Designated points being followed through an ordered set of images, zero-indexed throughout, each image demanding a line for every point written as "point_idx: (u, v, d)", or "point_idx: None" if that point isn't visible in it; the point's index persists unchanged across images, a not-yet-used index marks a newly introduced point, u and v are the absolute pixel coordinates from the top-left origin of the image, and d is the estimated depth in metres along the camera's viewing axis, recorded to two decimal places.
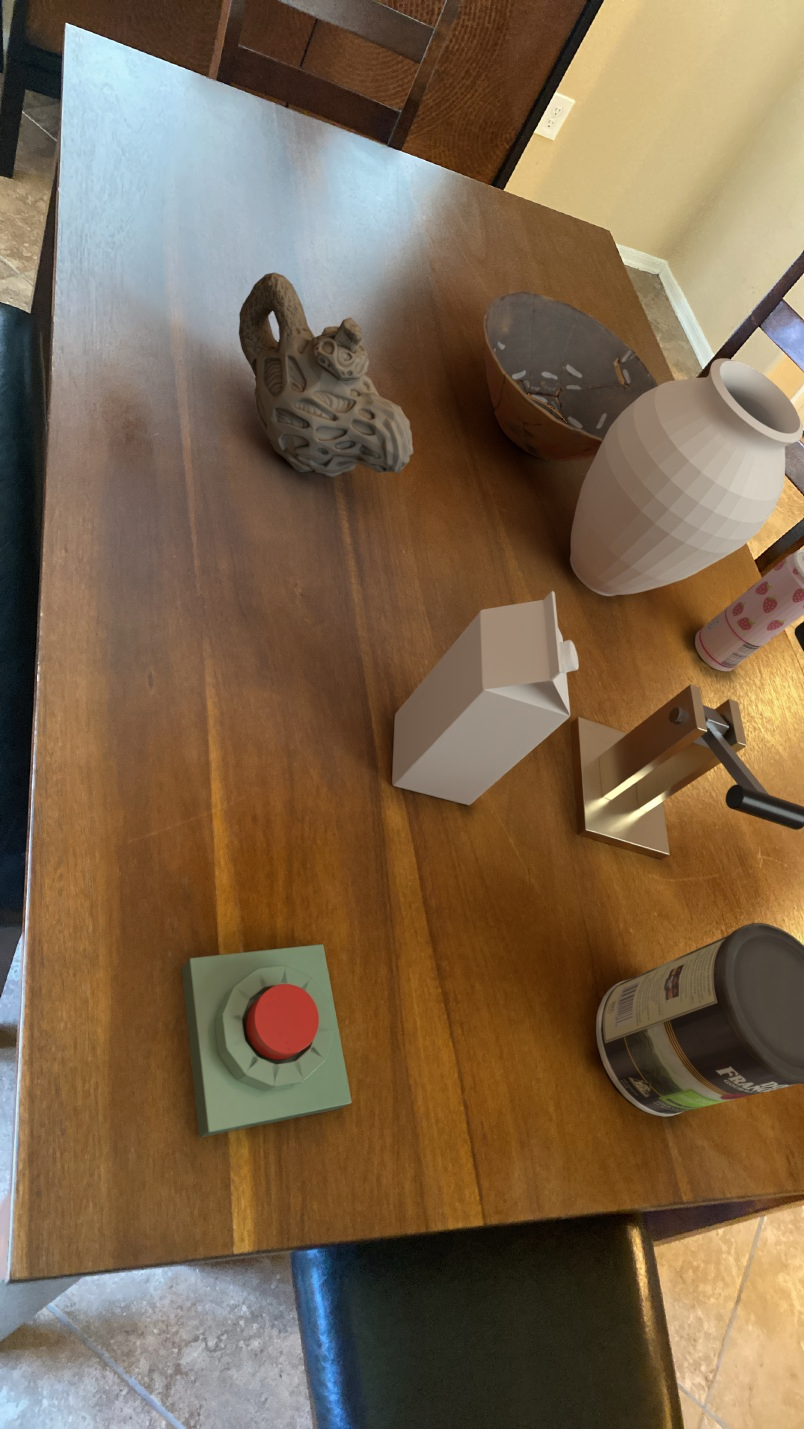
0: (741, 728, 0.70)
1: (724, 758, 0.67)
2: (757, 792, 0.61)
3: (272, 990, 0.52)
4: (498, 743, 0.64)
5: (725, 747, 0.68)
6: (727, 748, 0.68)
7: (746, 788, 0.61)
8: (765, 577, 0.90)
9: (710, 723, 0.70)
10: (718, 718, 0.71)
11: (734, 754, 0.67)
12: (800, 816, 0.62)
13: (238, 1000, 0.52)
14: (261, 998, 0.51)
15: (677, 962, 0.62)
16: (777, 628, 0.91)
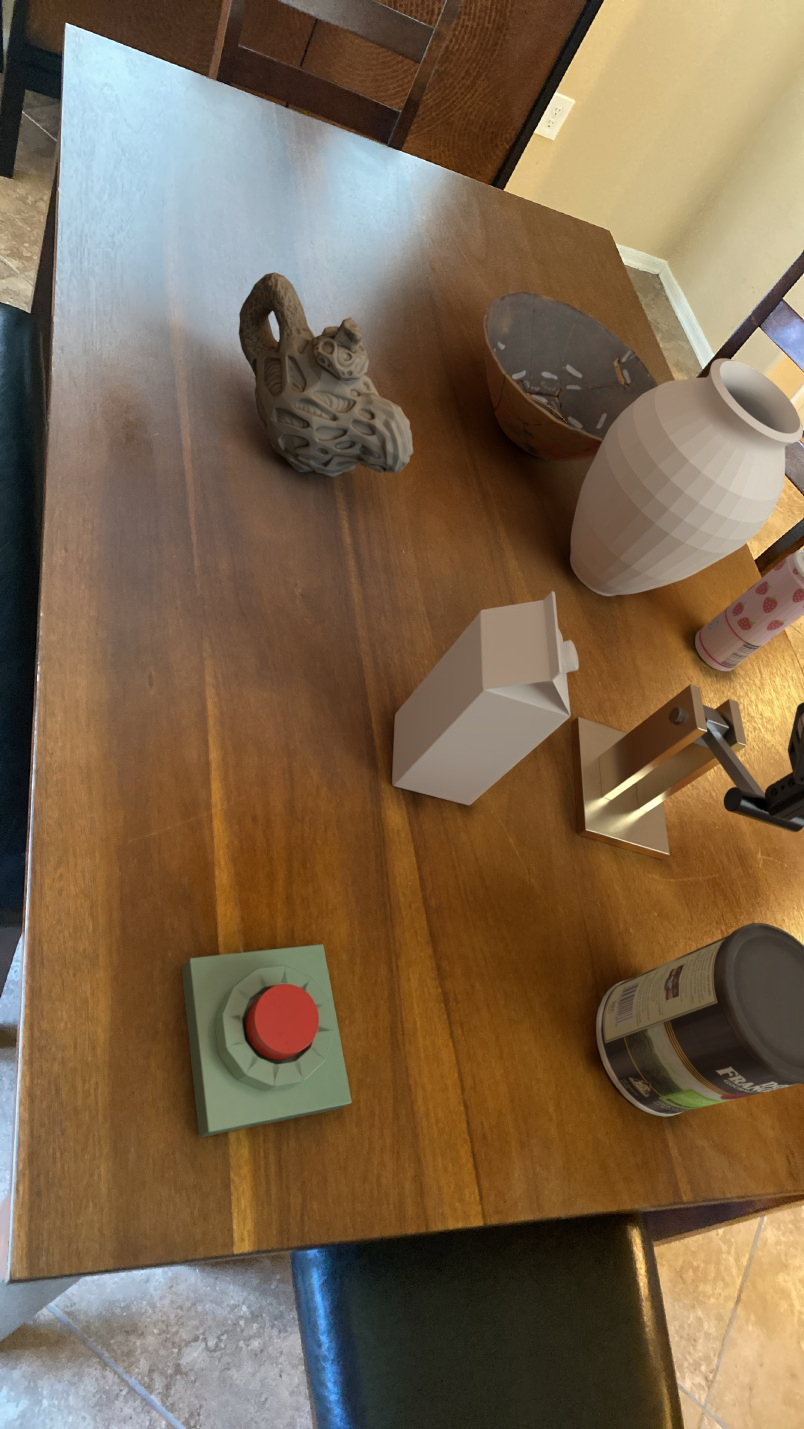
0: (741, 728, 0.70)
1: (723, 759, 0.67)
2: (755, 795, 0.61)
3: (272, 990, 0.52)
4: (498, 743, 0.64)
5: (724, 748, 0.68)
6: (726, 749, 0.68)
7: (744, 791, 0.61)
8: (765, 577, 0.90)
9: (710, 723, 0.70)
10: (718, 718, 0.71)
11: (733, 755, 0.67)
12: (798, 819, 0.62)
13: (238, 1000, 0.52)
14: (261, 998, 0.51)
15: (677, 962, 0.62)
16: (777, 628, 0.91)
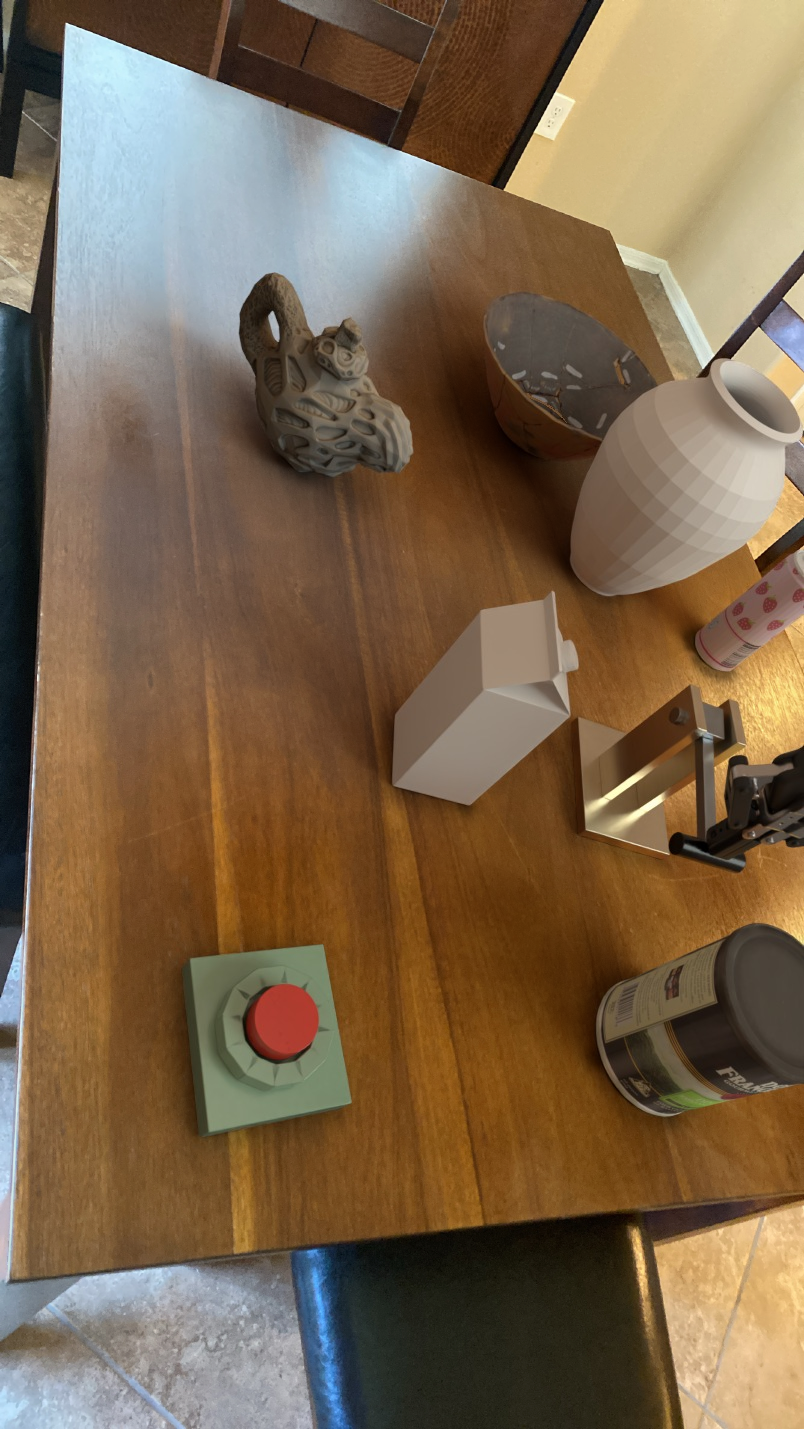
0: (741, 728, 0.70)
1: (698, 779, 0.69)
2: (699, 845, 0.65)
3: (272, 990, 0.52)
4: (498, 743, 0.64)
5: (705, 768, 0.69)
6: (707, 769, 0.69)
7: (688, 841, 0.65)
8: (765, 577, 0.90)
9: (705, 734, 0.70)
10: (718, 726, 0.70)
11: (710, 778, 0.69)
12: (735, 867, 0.66)
13: (238, 1000, 0.52)
14: (261, 998, 0.51)
15: (677, 962, 0.62)
16: (777, 628, 0.91)
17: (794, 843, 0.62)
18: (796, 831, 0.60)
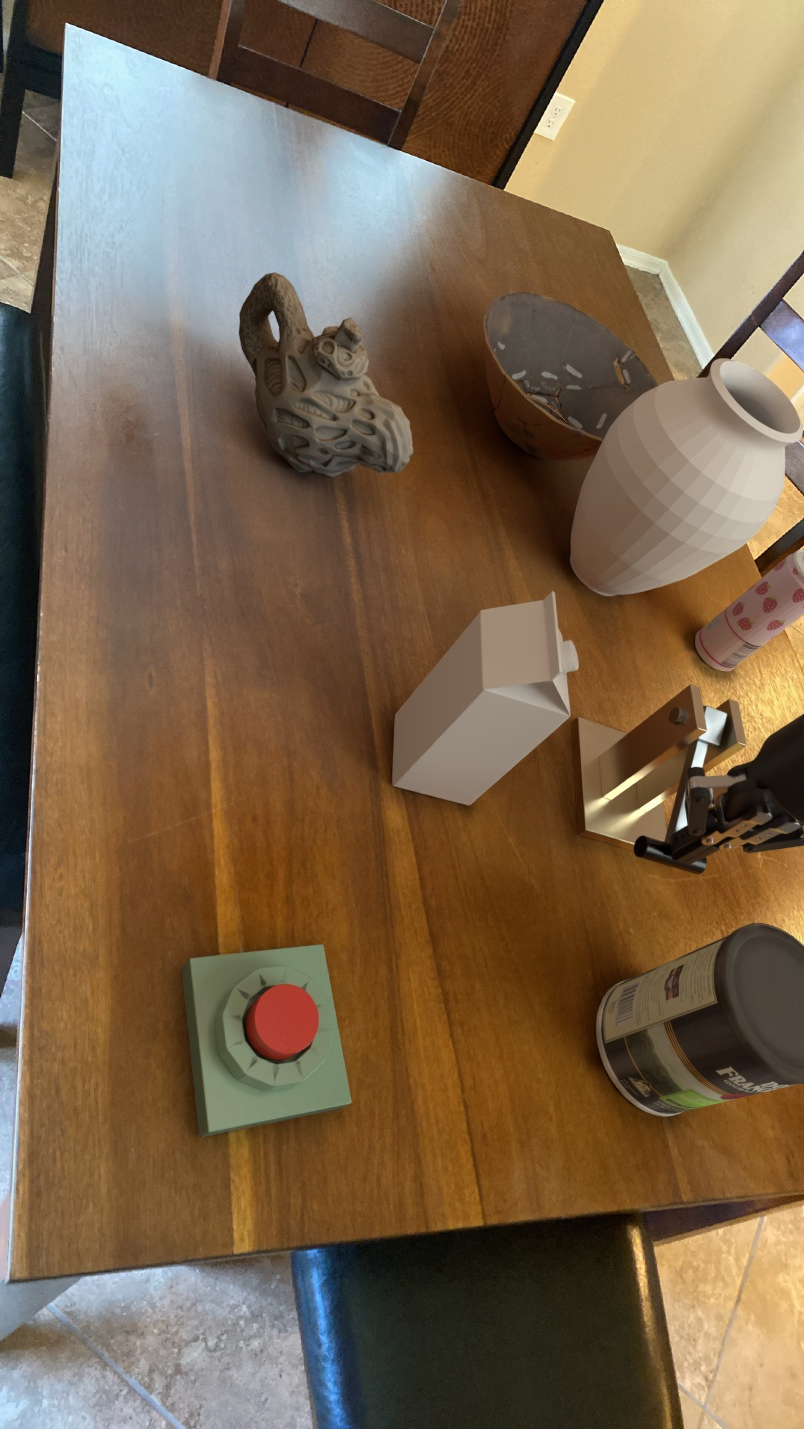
0: (741, 728, 0.70)
1: (682, 782, 0.71)
2: (661, 852, 0.69)
3: (272, 990, 0.52)
4: (498, 743, 0.64)
5: None
6: None
7: (651, 849, 0.69)
8: (765, 577, 0.90)
9: (700, 739, 0.70)
10: (716, 732, 0.70)
11: None
12: (694, 871, 0.71)
13: (238, 1000, 0.52)
14: (261, 998, 0.51)
15: (677, 962, 0.62)
16: (777, 628, 0.91)
17: (751, 849, 0.66)
18: (751, 838, 0.64)
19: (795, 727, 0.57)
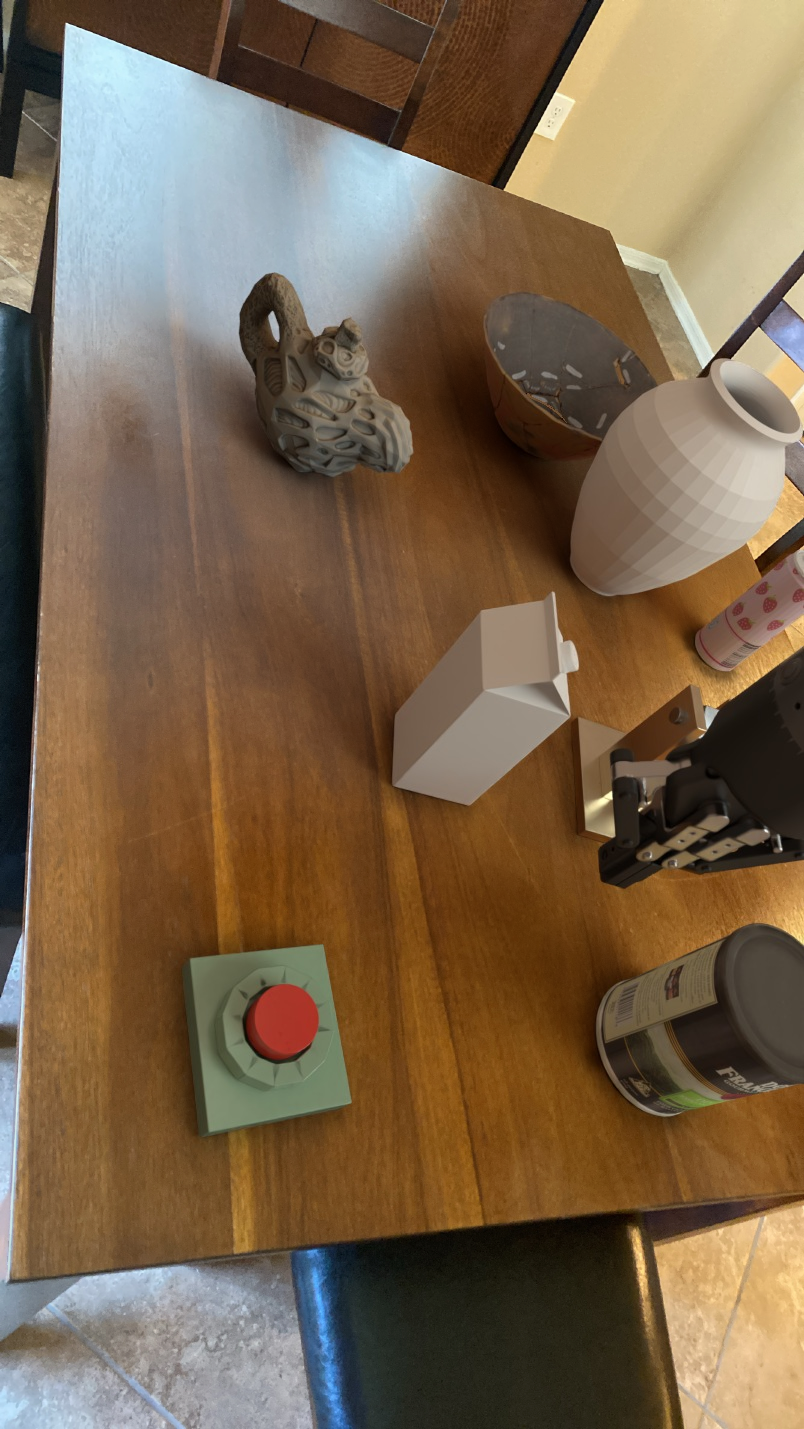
0: None
1: None
2: None
3: (272, 990, 0.52)
4: (498, 744, 0.64)
5: None
6: None
7: None
8: (765, 577, 0.90)
9: None
10: None
11: None
12: (696, 871, 0.70)
13: (238, 1000, 0.52)
14: (261, 998, 0.51)
15: (677, 962, 0.62)
16: (777, 628, 0.91)
17: (705, 868, 0.47)
18: (703, 852, 0.45)
19: (759, 687, 0.39)
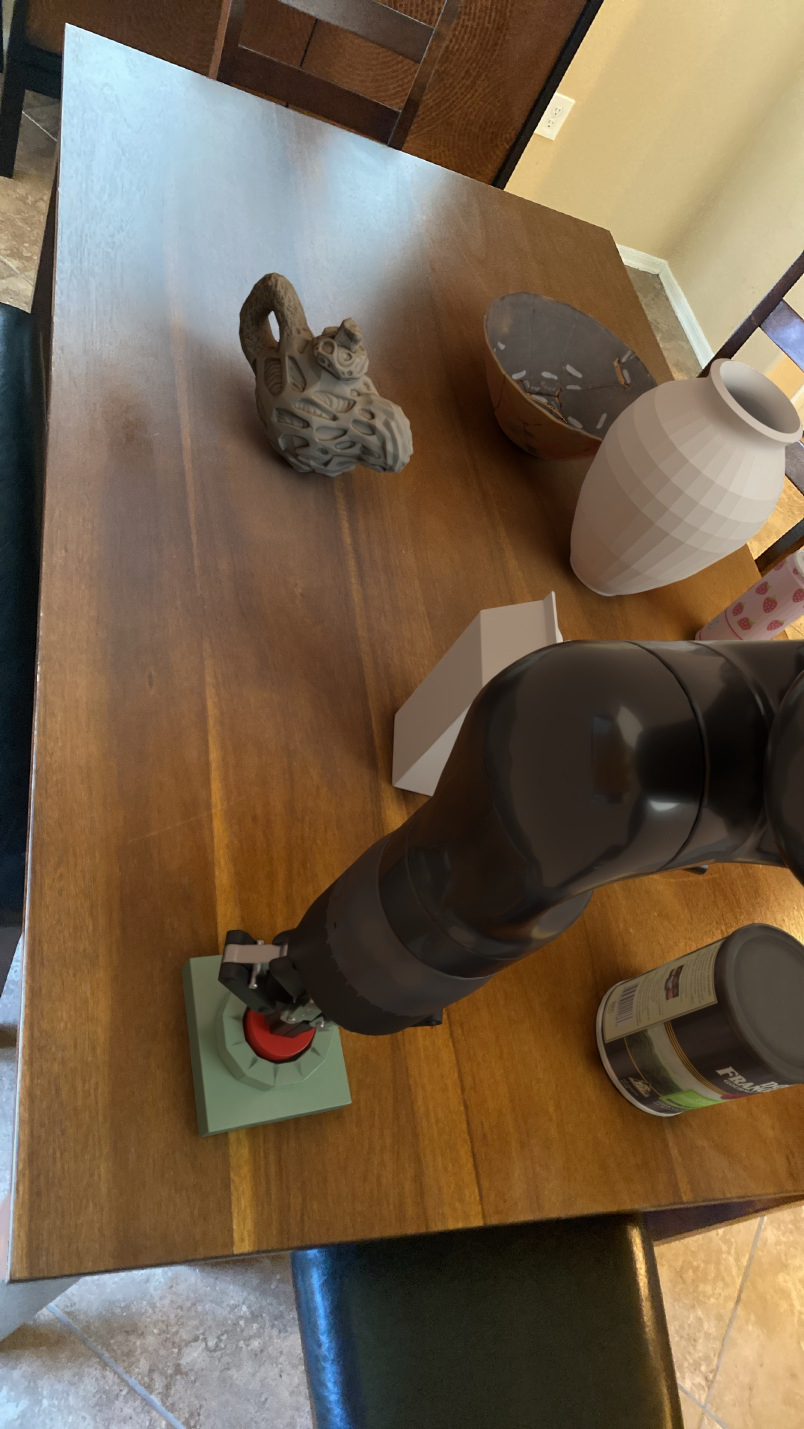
0: None
1: None
2: None
3: None
4: None
5: None
6: None
7: None
8: (765, 577, 0.90)
9: None
10: None
11: None
12: (696, 871, 0.70)
13: (238, 1000, 0.52)
14: None
15: (677, 962, 0.62)
16: (777, 628, 0.91)
17: None
18: (331, 1022, 0.46)
19: (329, 890, 0.39)
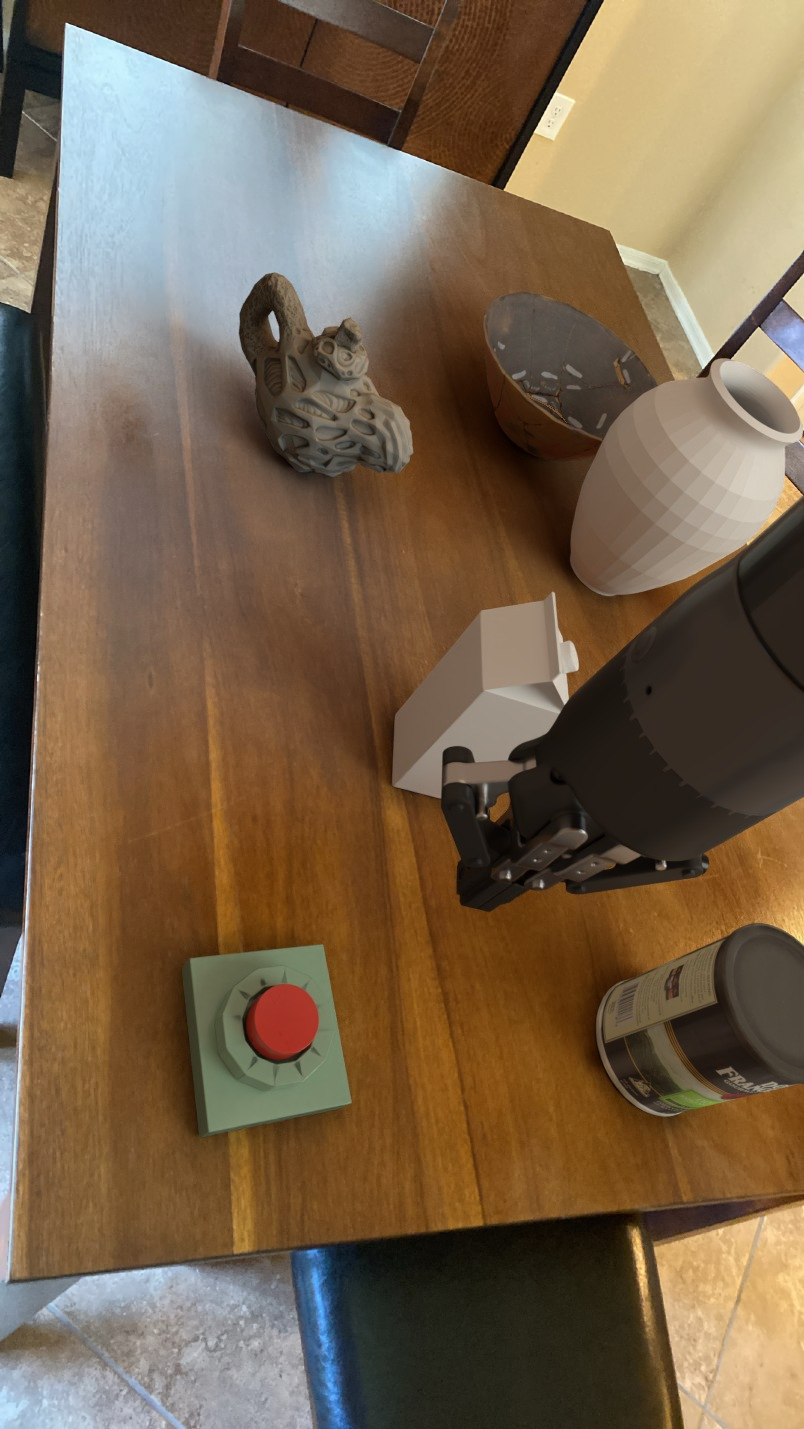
0: None
1: None
2: None
3: (272, 990, 0.52)
4: (498, 744, 0.64)
5: None
6: None
7: None
8: None
9: None
10: None
11: None
12: None
13: (238, 1000, 0.52)
14: (261, 998, 0.51)
15: (677, 962, 0.62)
16: None
17: (577, 889, 0.38)
18: (567, 871, 0.36)
19: (611, 665, 0.30)
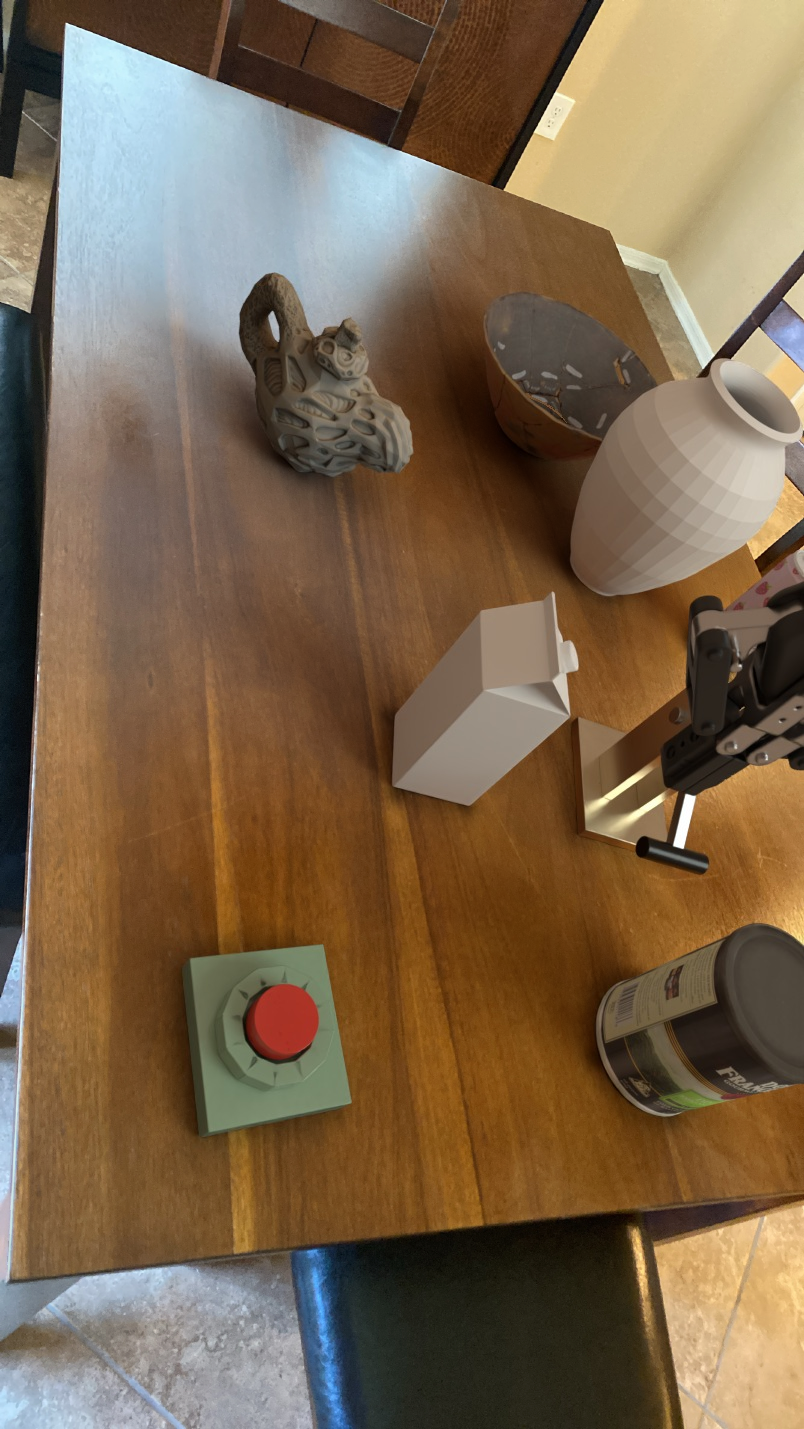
0: None
1: None
2: (663, 852, 0.69)
3: (272, 990, 0.52)
4: (498, 744, 0.64)
5: None
6: None
7: (653, 849, 0.69)
8: (765, 577, 0.90)
9: None
10: None
11: None
12: (696, 871, 0.70)
13: (238, 1000, 0.52)
14: (261, 998, 0.51)
15: (677, 962, 0.62)
16: None
17: (803, 762, 0.37)
18: None
19: None
